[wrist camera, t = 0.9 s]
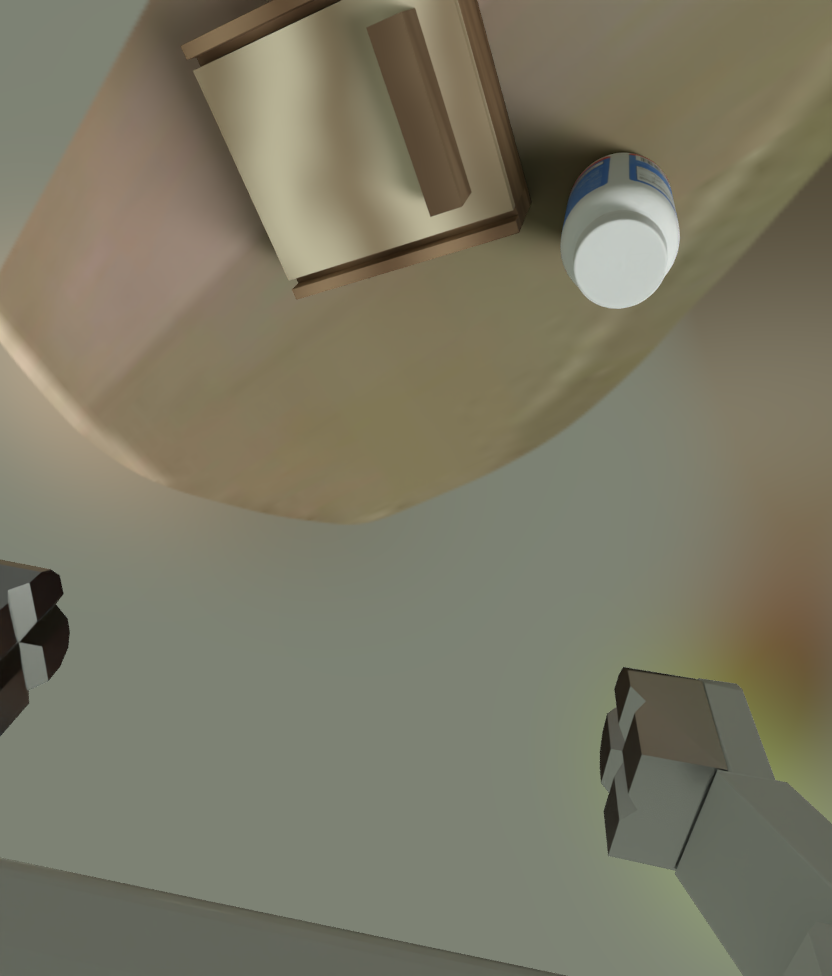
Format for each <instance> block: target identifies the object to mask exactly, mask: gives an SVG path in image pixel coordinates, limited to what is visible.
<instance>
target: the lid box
mask: <svg viewBox="0 0 832 976" xmlns="http://www.w3.org/2000/svg"><path fill="white" fill-rule="evenodd" d="M339 1H341V0H273V1H271V2H269V3H267V4H265V5H263V6H261V7H259V8H256V9H254V10H252V11H250V12H248V13H246V14H244V15H242V16H240V17H238V18H236V19H234V20H232V21H230V22H228V23H226V24H224V25H222V26H220V27H218V28H216V29H214V30H212V31H210V32H208V33H206V34H204V35H202V36H200V37H198V38H196V39H194V40H192V41H190V42H188V43H186V44H184V45H182V46H181V48H182V51H183V53H184V55H185V57H186V59H187V60H188V59H192V58H196V57H197V60H198V62H199V64H200V66H201V67H202V66H204V65H206V64H208V63H211V62H213V61H215V60H217V59H219V58H221V57H223V56H225V55H227V54H229V53H232V52H234V51H236V50H238V49H240V48H242V47H244V46H246V45H248V44H251V43H253V42H255V41H257V40H259V39H261V38H263V37H265V36H267V35H270V34H272V33H274V32H276V31H278V30H280V29H282V28H284V27H286V26H289V25H291V24H293V23H295V22H297V21H299V20H301V19H303V18H305V17H308V16H310V15H312V14H314V13H316V12H318V11H320V10H322V9H324V8H327V7H329V6H331V5H333V4H335V3H337V2H339ZM458 3H459V6H460V10H461V13H462V17H463V21H464V24H465V28H466V31H467V35H468V38H469V42H470V46H471V49H472V53H473V56H474V60H475V63H476V67H477V71H478V74H479V78H480V81H481V85H482V88H483V92H484V96H485V99H486V103H487V106H488V110H489V113H490V117H491V121H492V124H493V128H494V131H495V135H496V138H497V142H498V146H499V149H500V153H501V156H502V160H503V164H504V167H505V171H506V174H507V178H508V181H509V185H510V189H511V192H512V196H513V199H514V203H515V207H514V210H512V211H509V212H506V213H503V214H500V215H496V216H493V217H490V218H487V219H484V220H481V221H477V222H474V223H471V224H468V225H465V226H461V227H458V228H455V229H452V230H449V231H445V232H442V233H439V234H436V235H433V236H429V237H426V238H423V239H420V240H417V241H414V242H410V243H407V244H404V245H401V246H398V247H394V248H391V249H388V250H385V251H382V252H378V253H375V254H372V255H369V256H366V257H363V258H359V259H356V260H353V261H350V262H347V263H343V264H340V265H337V266H334V267H331V268H327V269H324V270H321V271H318V272H315V273H312V274H308V275H305V276H302V277H299V278H296V279H297V281H298V284H297V285H296V286H295V287H294V288H293V289H292V291H293V293H294V295H295V297H296V299H300V298H304V297H307V296H310V295H314V294H317V293H320V292H324V291H327V290H330V289H334V288H337V287H340V286H344V285H347V284H350V283H354V282H357V281H360V280H364V279H367V278H370V277H374V276H377V275H380V274H384V273H387V272H390V271H394V270H397V269H400V268H404V267H407V266H410V265H414V264H417V263H420V262H424V261H427V260H430V259H434V258H437V257H440V256H444V255H447V254H450V253H454V252H457V251H460V250H463V249H467V248H470V247H473V246H477V245H480V244H483V243H487V242H490V241H493V240H497V239H500V238H503V237H507V236H510V235H513V234H517V233H519V232H520V229H521V227H522V224H523V222H524V219H525V217H526V215H527V212H528V210H529V207H530V205H531V199H530V195H529V192H528V188H527V184H526V181H525V177H524V173H523V169H522V166H521V162H520V158H519V154H518V151H517V147H516V143H515V140H514V136H513V132H512V128H511V125H510V121H509V117H508V113H507V110H506V106H505V102H504V99H503V95H502V91H501V87H500V84H499V80H498V76H497V72H496V69H495V65H494V61H493V58H492V54H491V50H490V46H489V43H488V39H487V35H486V31H485V28H484V24H483V20H482V17H481V13H480V9H479V5H478V2H477V0H458Z"/></svg>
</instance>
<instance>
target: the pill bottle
mask: <svg viewBox="0 0 832 976" xmlns="http://www.w3.org/2000/svg"><path fill="white" fill-rule="evenodd" d="M679 239H680V233H679V225H678V219H677V214H676V210H675V205H674V201H673V197H672V192H671V187H670V184H669V181H668V179H667V177H666V176H665V174H664V173H663V171H662V170H661V169H660V168H659V167H658V166H657V165H656V164H655V163H654V162H653V161H651V160H649V159H648V158H646V157H643V156H641V155H638V154H634V153H615V154H610V155H607V156H605V157H602V158H600V159H598V160H596V161H595V162H593V163H592V164H591V165H589V166H588V167H587V168H586V169H585V170H584V171H583V172H582V173H581V175H580V176H579V177H578V179H577V180H576V182H575V184H574V186H573V188H572V190H571V192H570V195H569V199H568V204H567V209H566V213H565V219H564V224H563V229H562V235H561V257H562V262H563V265H564V267H565V270H566V272H567V274H568V275H569V277H570V278H571V280H572V281H573V282H574V283H575V284H576V285H577V286H578V287H579V289H580V290H581V292H582V293H583V294H584V295H585V296H586V297H587V298H588V299H589V300H590V301H592V302H594V303H595V304H597V305H600V306H603V307H607V308H616V309H620V308H626V307H630V306H633V305H636V304H638V303H640V302H642V301H644V300H645V299H647V298H648V297H649V296H650V295H652V294H653V293H654V292H655V291H656V289H657V288H658V287H659V285H660V284H661V282H662V280H663V278H664V277H665V275H666V274H667V273H668V271H669V270H670V268H671V267H672V265H673V263H674V261H675V258H676V255H677V252H678V247H679Z"/></svg>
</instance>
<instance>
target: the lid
mask: <svg viewBox="0 0 832 976" xmlns="http://www.w3.org/2000/svg"><path fill="white" fill-rule="evenodd" d="M193 72H194V74H195V77H196V79H197V81H198V83H199V85H200V87H201V90H202V92H203V94H204V96H205V98H206V101H207V103H208V105H209V107H210V109H211V111H212V114H213V116H214V118H215V120H216V122H217V125H218V127H219V129H220V131H221V133H222V136H223V138H224V140H225V142H226V144H227V146H228V149H229V151H230V153H231V155H232V157H233V160H234V162H235V164H236V166H237V168H238V171H239V173H240V175H241V177H242V179H243V181H244V184H245V186H246V188H247V190H248V192H249V195H250V197H251V199H252V201H253V203H254V206H255V208H256V210H257V212H258V214H259V216H260V219H261V221H262V223H263V225H264V227H265V230H266V232H267V234H268V236H269V238H270V241H271V243H272V245H273V247H274V249H275V251H276V254H277V256H278V258H279V260H280V262H281V265H282V267H283V269H284V271H285V273H286V276H287V278H288V280H292V279H296V278H299V277H302V276H305V275H308V274H312V273H315V272H318V271H321V270H324V269H327V268H331V267H334V266H337V265H340V264H343V263H347V262H350V261H353V260H356V259H359V258H363V257H366V256H369V255H372V254H375V253H378V252H382V251H385V250H388V249H391V248H394V247H398V246H401V245H404V244H407V243H410V242H414V241H417V240H420V239H423V238H426V237H429V236H433V235H436V234H439V233H442V232H445V231H449V230H452V229H455V228H458V227H461V226H465V225H468V224H471V223H474V222H477V221H481V220H484V219H487V218H490V217H493V216H496V215H500V214H503V213H506V212H509V211H512V210H514V207H515V203H514V199H513V196H512V192H511V189H510V185H509V181H508V178H507V174H506V171H505V167H504V164H503V160H502V156H501V153H500V149H499V146H498V142H497V138H496V135H495V131H494V128H493V124H492V121H491V117H490V113H489V110H488V106H487V103H486V99H485V96H484V92H483V88H482V85H481V81H480V78H479V74H478V71H477V67H476V63H475V60H474V56H473V53H472V49H471V46H470V42H469V38H468V35H467V31H466V28H465V24H464V21H463V17H462V13H461V10H460V6H459V3H458V0H341V1H339V2H337V3H335V4H333V5H331V6H329V7H327V8H324V9H322V10H320V11H318V12H316V13H314V14H312V15H310V16H308V17H305V18H303V19H301V20H299V21H297V22H295V23H293V24H291V25H289V26H286V27H284V28H282V29H280V30H278V31H276V32H274V33H272V34H270V35H267V36H265V37H263V38H261V39H259V40H257V41H255V42H253V43H251V44H248V45H246V46H244V47H242V48H240V49H238V50H236V51H234V52H232V53H229V54H227V55H225V56H223V57H221V58H219V59H217V60H215V61H213V62H211V63H208V64H206V65H204V66H202V67H200V68H198V69H196V70H194V71H193Z"/></svg>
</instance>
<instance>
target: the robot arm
mask: <svg viewBox="0 0 832 976" xmlns="http://www.w3.org/2000/svg"><path fill="white" fill-rule="evenodd" d="M62 595H63V588H62V584H61V579H60V575H59V574H57V573H55V572H54V571H53V570H51V569H45V568H41V567H36V566H30V565H25V564H20V563H15V562H10V561H5V560H0V736H1V735H2V734H3V733H4V732H5V730H6V729H7V728H8V727H9V726H10V725H11V724H12V722H13V721H14V720H15V719H16V718H17V717H18V716H19V714H20V713H21V712H22V711H23V710H24V709H25V707H26V706H27V705H28V704H29V690H30V689H32V688H34V687H37V686H39V685H41V684H43V683H45V682H47V681H49V680H50V678H51V677H52V676H53V675H54V674H55V672H56V671H57V670H58V669H59V667H60V666H61V664H62V661H63V659H64V656H65V654H66V652H67V649H68V645H69V635H70V630H69V624H68V618H67V617H66V616H65V615H64V614H63V612H62V611H61V610H60V609H59V607H58V606H57V605H56V603H57V602H58V601H59V599H60V598H61V597H62ZM614 690H615V698H616V708H614V709H613V710H612V711H610V712H609V713H607V716H606V720H605V724H604V728H603V732H602V740H601V747H600V776H601V784H602V785H603V786H604V787H605V788H606V790H607V791H608V792H609V795H608V798H607V802H606V805H605V808H604V819H605V829H606V839H607V849H608V856H612V857H616V858H621V859H625V860H630V861H635V862H640V863H643V864H648V865H653V866H657V867H662V868H666V869H671V870H675V871H676V872H675V875H676V876H677V878H678V879H679V881H680V882H681V884H682V885H683V887H684V888H685V890H686V891H687V893H688V894H689V896H690V897H691V899H692V900H693V901H694V903H695V905H696V906H697V907H698V909H699V910H700V912H701V914H702V915H703V916H704V918H705V919H706V921H707V922H708V924H709V925H710V927H711V928H712V930H713V931H714V933H715V934H716V936H717V937H718V939H719V940H720V942H721V943H722V945H723V946H724V948H725V949H726V951H727V952H728V954H729V955H730V957H731V958H732V960H733V961H734V962H735V964H736V966H737V967H738V969H739V970H740V972H741V973H742V975H743V976H832V824H831V823H830V822H829V821H828V820H827V819H826V818H825V817H824V816H823V815H822V814H821V813H820V812H818V811H817V810H816V809H815V808H814V807H813V806H812V805H811V804H810V803H809V802H808V801H807V800H805V799H804V798H803V797H802V796H801V795H800V794H799V793H798V792H797V791H796V790H794V788H793V787H791V786H790V785H789V784H788V783H787V782H781V781H776V780H775V778H774V775H773V773H772V770H771V767H770V764H769V762H768V759H767V756H766V753H765V751H764V748H763V745H762V742H761V740H760V737H759V734H758V731H757V729H756V726H755V723H754V720H753V718H752V715H751V712H750V710H749V707H748V704H747V701H746V698H745V696H744V693H743V690H742V689H741V688H740V687H739V686H738V685H737V684H734V683H727V682H720V681H713V680H706V679H700V678H699V679H693V678H687V677H681V676H675V675H669V674H662V673H657V672H651V671H644V670H638V669H632V668H626V667H623V668H622V670H621V672H620V674H619V676H618V679H617V682H616V686H615V689H614ZM0 976H566V975H561V974H557V973H552V972H547V971H542V970H537V969H533V968H528V967H523V966H518V965H514V964H509V963H504V962H499V961H494V960H490V959H484V958H480V957H475V956H470V955H465V954H461V953H456V952H451V951H446V950H441V949H436V948H432V947H427V946H422V945H417V944H413V943H408V942H403V941H398V940H393V939H388V938H384V937H379V936H374V935H369V934H365V933H360V932H355V931H350V930H345V929H340V928H336V927H331V926H326V925H321V924H317V923H312V922H307V921H302V920H297V919H292V918H288V917H283V916H278V915H273V914H268V913H263V912H258V911H254V910H249V909H245V908H240V907H235V906H230V905H225V904H220V903H216V902H211V901H206V900H202V899H196V898H192V897H187V896H182V895H178V894H173V893H168V892H163V891H159V890H154V889H149V888H144V887H139V886H135V885H130V884H125V883H120V882H115V881H111V880H106V879H101V878H96V877H91V876H87V875H81V874H77V873H73V872H67V871H63V870H58V869H53V868H49V867H44V866H39V865H34V864H29V863H25V862H19V861H15V860H10V859H6V858H1V857H0Z"/></svg>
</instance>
